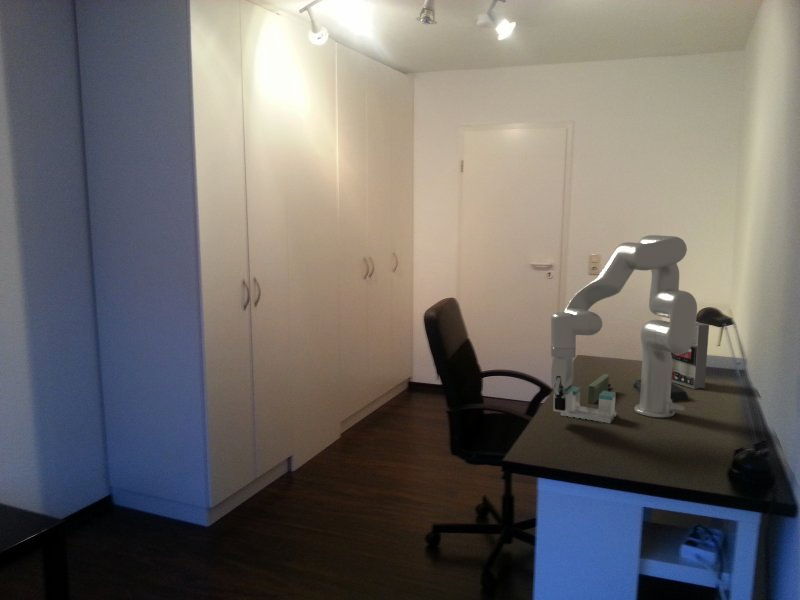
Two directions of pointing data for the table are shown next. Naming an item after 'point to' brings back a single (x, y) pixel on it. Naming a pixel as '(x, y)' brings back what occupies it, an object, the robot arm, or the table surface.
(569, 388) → the block
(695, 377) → the grey printed box
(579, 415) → the rail plate
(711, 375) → the table surface
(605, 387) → the handheld radio
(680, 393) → the external hard drive
